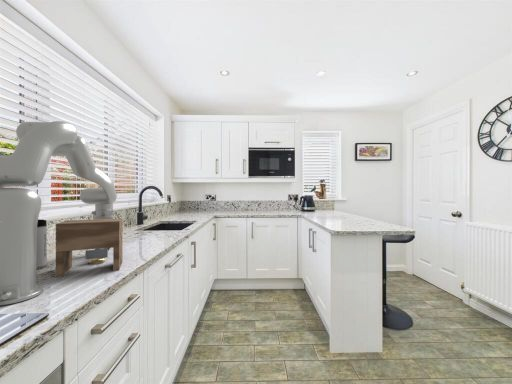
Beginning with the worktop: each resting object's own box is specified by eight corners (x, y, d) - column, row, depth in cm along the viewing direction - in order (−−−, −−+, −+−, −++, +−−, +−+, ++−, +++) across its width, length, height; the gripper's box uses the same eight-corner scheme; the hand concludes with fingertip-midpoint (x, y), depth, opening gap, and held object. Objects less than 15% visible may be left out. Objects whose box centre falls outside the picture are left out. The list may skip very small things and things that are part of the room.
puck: (103, 263, 105) (103, 260, 105) (86, 265, 103) (86, 261, 103) (106, 260, 111) (106, 256, 111) (91, 261, 109) (91, 257, 109)
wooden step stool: (119, 270, 96) (119, 221, 96) (55, 276, 88) (55, 224, 88) (122, 261, 107) (122, 218, 107) (66, 267, 99) (66, 220, 99)
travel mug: (21, 269, 96) (21, 218, 97) (42, 264, 102) (42, 217, 102) (28, 271, 94) (28, 219, 94) (49, 266, 99) (49, 217, 99)
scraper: (107, 257, 106) (107, 241, 107) (85, 259, 103) (85, 242, 104) (113, 252, 124) (113, 238, 125) (95, 253, 121) (95, 239, 122)
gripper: (82, 214, 115) (82, 253, 115) (122, 213, 121) (121, 250, 121) (86, 213, 122) (86, 250, 122) (123, 212, 128) (123, 247, 128)
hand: (104, 250), depth 122 cm, fingers closed on scraper, 3 cm apart
